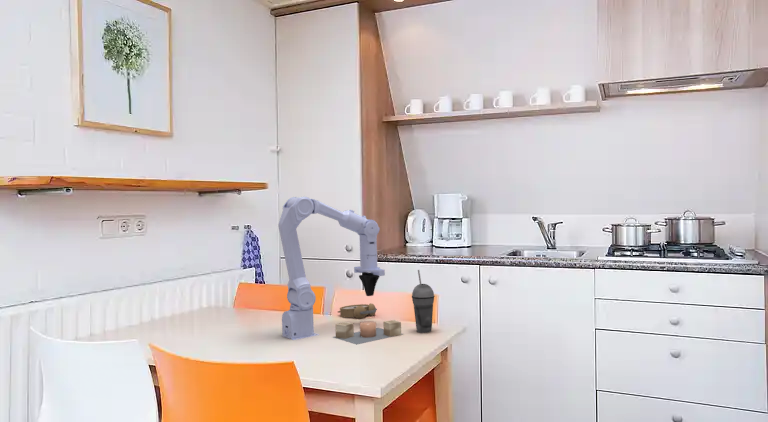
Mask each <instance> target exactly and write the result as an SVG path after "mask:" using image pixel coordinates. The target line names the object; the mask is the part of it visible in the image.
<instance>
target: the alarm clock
mask: <svg viewBox="0 0 768 422" xmlns="http://www.w3.org/2000/svg"><path fill="white" fill-rule="evenodd" d="M377 311H378V308H376V306H375V304H374V303H369V304H366V303H365V304H363V303H361V304H351V305H344V306H342V307H340V308H339V311H337V313H338V314H339V313H340V317H341V318H355V319H358V320H360V319H365V317H366V316H370V317H373V316H375V315H376V312H377Z"/></svg>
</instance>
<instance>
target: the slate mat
mask: <svg viewBox="0 0 768 422" xmlns="http://www.w3.org/2000/svg"><path fill="white" fill-rule="evenodd" d="M402 335H403V336H404V333H402V332H401V335H398V336H399V337H400V336H402ZM398 336H397V337H398ZM393 337H395V336H392V337H391V338H393ZM332 338H333V339H337V340H340V341H344V342H346V343H350V344H354V345H361V344H366V343H370V342H375V341H380V340H383V339H389V338H390V337H389V336H387V335H384V328H381V327H376V336H375V337H368V338H366V337H361V336H360V331H354V336H353V337H350V338H347V339H343V338H337V337H336V335H335V336H332Z"/></svg>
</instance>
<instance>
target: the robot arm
mask: <svg viewBox="0 0 768 422" xmlns="http://www.w3.org/2000/svg"><path fill="white" fill-rule="evenodd" d="M316 214H319V215H322V216H324V217H327V218H329V219H332V220H334V221H335V220H336V221H337V222H338V225H339V226H340V227H342V228H345V229H347V230H350V231H352V232H354V233H356V234H357V235H358V236H359V260H360V261H359V264H360V266H354V267H353V269H354V270H353V272H354V273H356V274H359V275H358V277H359V279H360V281H361V283H362V286H363V288H364V292H365V296H367V297H372V296H374V294H375V289H376V286H377V283H378V281H379V279H380V277H383V276H386V275H385V274H386V272H385V269H384V268H380V267H379V266H378V245H377V244H378V243H377V242H378V241H377V240H378V238H377V236H378V235H379V232H380V229H381V227H379V224H378V223H377V221H376V220H374V219H369V218H368V219H367V216H366V215H359V214H357V213H355V210H353V209H349V210H348V209H347V210H344V211H341V210H338V209H337V208H334V207H332V206H330V205H329V204H326V203H325V202H322V201H320V200H317V199H315V198H310V197H307V196H301V197H299V196H298V197H297V196H293V197H290V198H289V199H287V200H286V202H285V203H284V204H283V205H282V212H281V214H280V218H279V220H278V221H279V222H278V224H277V225H278V226H277V227H278V231H279V232H278V233H279V235H280V241H281V244H282V251H283V256H284V259H285V265H286V269H287V275H288V279H289V280H288V283H287V294H286V295H287V296H286V299H287V301H288V303H290V305H289V310H286V311H284V312H283V313H282V315H281V329H282V330H281V331H282V335H281V337H283V338H286V339H289V340H292V341H297V340H301V339H306V338H307V339H308V338H311V337H312V338H313V337H317V336H319V335H320V334H319V333H315V330H314V329H315V327H314V326H315V324H314V323H315V321H314V304H315V303H316V300H317V299H316V298H317V297H316V294H315V292H314V290H312V287H311V284H310V282H309V280H308V278H307V276H306V271H305V267H304V261H303V257H302V251H301V248H300V242H299V235H298V232H297V228H298V227H299V226H300V224H301V223H302V221H304V220H305V219H306V218H308V217H310V216H311V215H316Z"/></svg>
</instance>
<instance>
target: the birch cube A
mask: <svg viewBox="0 0 768 422" xmlns="http://www.w3.org/2000/svg"><path fill="white" fill-rule="evenodd" d="M354 325H355V324H354V323H353V322H348V321H342V322H339V323H336V324H335V327H334V328H335V329H334V330H335V336H336V337H337V338H343V339H347V338H350V337H353V336H354V333H355V329H354V327H355V326H354Z"/></svg>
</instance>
